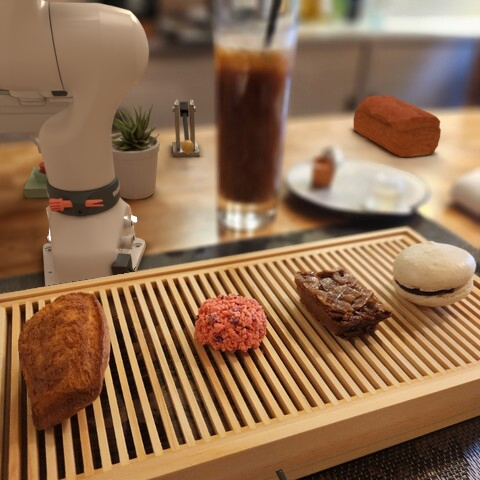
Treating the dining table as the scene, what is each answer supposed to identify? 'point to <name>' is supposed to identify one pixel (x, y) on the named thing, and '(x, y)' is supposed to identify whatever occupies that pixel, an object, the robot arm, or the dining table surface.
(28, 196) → the green button base
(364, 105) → the bread
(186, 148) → the lever
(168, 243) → the dining table surface
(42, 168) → the lock button
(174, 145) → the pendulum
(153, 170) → the potted plant
